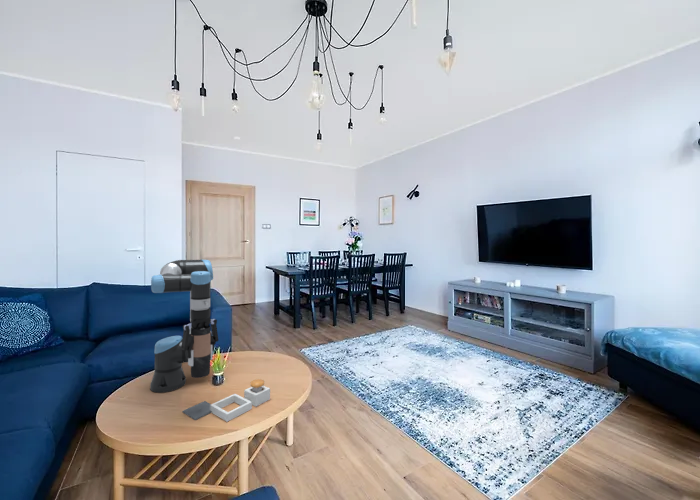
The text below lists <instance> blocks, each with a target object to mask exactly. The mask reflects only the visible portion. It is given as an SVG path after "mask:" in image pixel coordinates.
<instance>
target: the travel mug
mask: <svg viewBox="0 0 700 500" xmlns="http://www.w3.org/2000/svg"><path fill="white" fill-rule="evenodd" d="M208 326H209V328H207V329H205V328H202V329H200V330H193V329H192V327H191V336H193V335H194V344H193V347H192V350H193V366H190V376H191V377H192V378H194V379H197V378H198V379H199V378H205V377H206V376H209V375H210V372H211V360H210V354H211V345H210V331H211V325H210V324H209V325H208Z"/></svg>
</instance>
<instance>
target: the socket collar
mask: <svg viewBox="0 0 700 500" xmlns="http://www.w3.org/2000/svg"><path fill="white" fill-rule="evenodd" d="M234 403H235V404H237V405H239V406H238V407H236V408H234V409H232V410H229V411H227V410H225V409H223V408H225V407H227V406H229V405H231V404H234ZM210 404H211V405H210V411H211V413H210V414H213V415H214V416H217V417H218V418H220V419H221V420H223V421H225V422H226V423H228V422H229V421H232V420H234V419H235V418H237V417H240V416H241V415H243V414H245V413H247V412H248V411H251V410H252V409H253V405H252V402H251V401H249V400H247V399H245V398H244V397H243V396H241V395H239V394H237V393H233V394H231V395H229V396H226V397H224V398H222V399H219V400H218V401H216V402H213V403H210Z"/></svg>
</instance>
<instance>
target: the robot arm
mask: <svg viewBox="0 0 700 500" xmlns="http://www.w3.org/2000/svg"><path fill="white" fill-rule="evenodd" d="M212 265H213V264H212V262H211V261H210V260H209V259H202V258H201V259H179V260H178V259H177V260H174V261H170V262H167V263H166V264H164V265H163V266H162V267H161V269H160V274H158V275H152V276H151V280H150V281H151V282H150V289H151V292H152V293H154V294H164V293H165V294H166V293H181V292H182V293H183V292H184V293H185V292H190V293H189V310H190V311H189V321H190V322H189V323H188V324H183V325H182V328H183V333H182V335H172V336H167V337H164V338H162V339H159V340H158V341H157V342H156V343H155V345H154V352H153V354H154V373H153V376H152V378H151V381H150V386H149V387H150V388H149V389H150V391H151V392H154V393H168V392H172V391H175V390H179V389H181V388H182V387H184V386H185V384H186V383H187V382H186V381H187V377H186V375H185V372H184V370H183V364H185V363H187V366H189V367H191V366H193V350H192V347H193V344H194V335H193V336H191V327H192V329H193V330H200V329H202V328H205V329H207V328H209V326H210V345H211V354H210V361H212V360H213V354H214V351H215V344H216V343H217V342H219V336H218V325H217V324H218V320H217V319H216V318H212V319H211V281H213V279H214V271H213V266H212ZM208 325H209V326H208Z"/></svg>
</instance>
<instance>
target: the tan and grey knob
mask: <svg viewBox="0 0 700 500" xmlns="http://www.w3.org/2000/svg"><path fill="white" fill-rule="evenodd" d="M249 386H250V387H253V392H255V393H258V392H260V391H262V386H265V380H264V379H261V378H260V379H259V378H258V379H257V378H256V379H253V380H252V381H250V385H249Z"/></svg>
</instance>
